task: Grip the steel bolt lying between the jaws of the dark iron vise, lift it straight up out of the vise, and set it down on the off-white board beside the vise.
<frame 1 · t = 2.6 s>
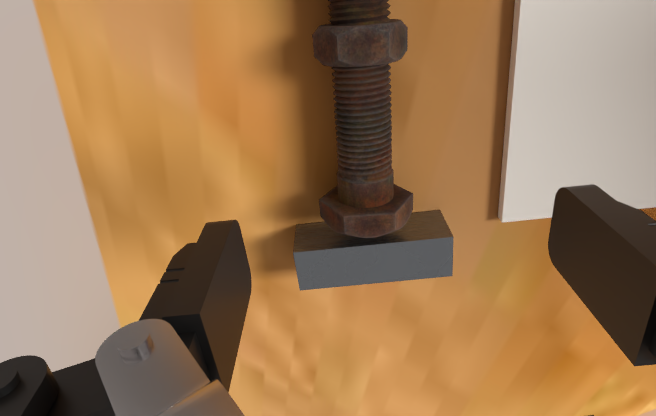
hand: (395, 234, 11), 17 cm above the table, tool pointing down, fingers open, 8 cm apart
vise: (357, 86, 26), on the table
bolt: (361, 89, 27), on the table
board: (631, 55, 25), on the table
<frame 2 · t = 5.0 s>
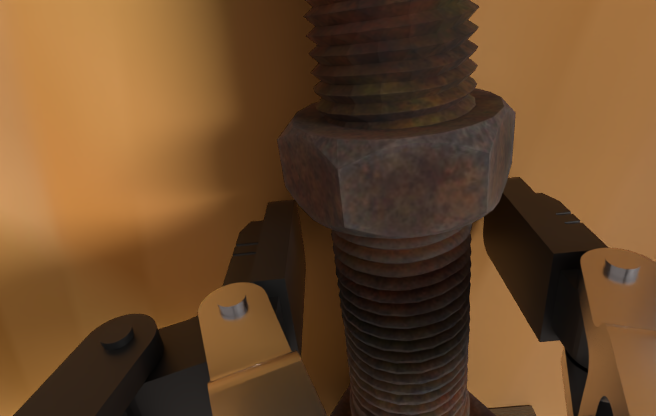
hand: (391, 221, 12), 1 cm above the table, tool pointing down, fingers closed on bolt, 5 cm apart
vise: (387, 208, 12), on the table
bolt: (392, 218, 13), on the table, touching gripper
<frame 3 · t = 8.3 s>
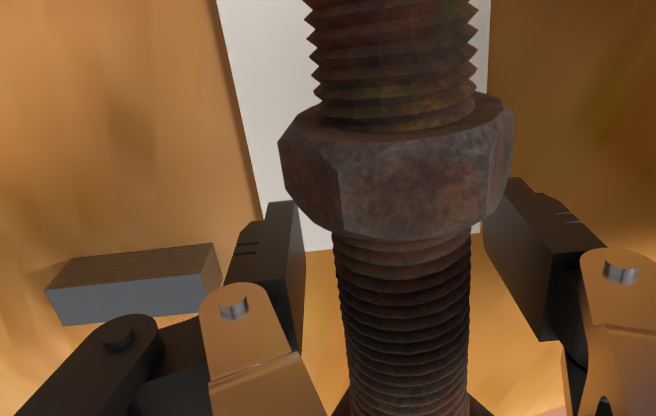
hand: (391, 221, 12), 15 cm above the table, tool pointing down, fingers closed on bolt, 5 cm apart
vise: (94, 125, 26), on the table
bolt: (392, 219, 13), point 14 cm above the table, touching gripper
board: (360, 92, 25), on the table
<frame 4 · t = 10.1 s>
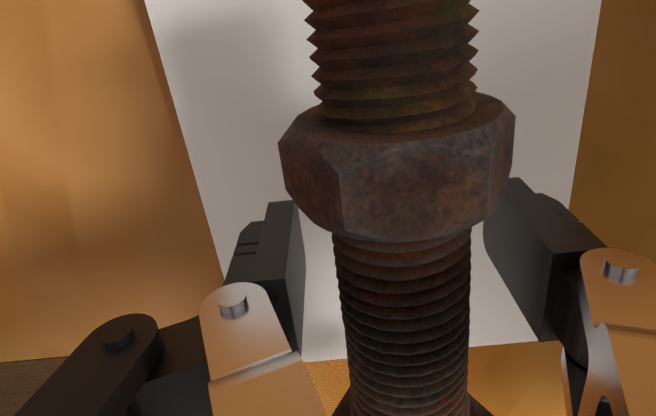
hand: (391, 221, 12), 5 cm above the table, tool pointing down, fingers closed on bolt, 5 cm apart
bolt: (392, 220, 13), point 4 cm above the table, touching gripper
board: (381, 147, 17), on the table
when the fingers open (3 cm above the table, at t = 11.5 s): bolt drops 1 cm, resting on board.
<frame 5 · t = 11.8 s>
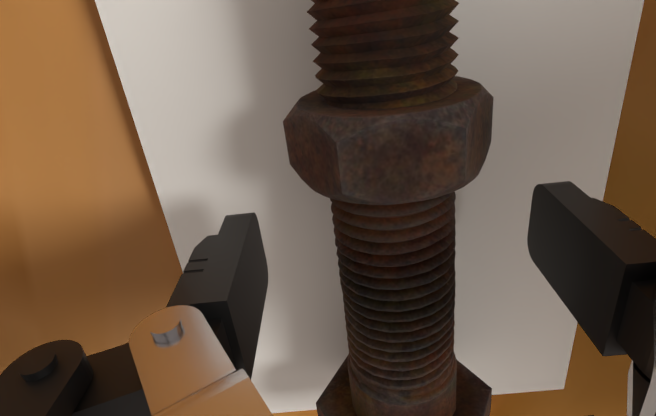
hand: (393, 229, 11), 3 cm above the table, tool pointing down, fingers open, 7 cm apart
bolt: (386, 197, 14), point 1 cm above the table, touching board
board: (379, 178, 14), on the table
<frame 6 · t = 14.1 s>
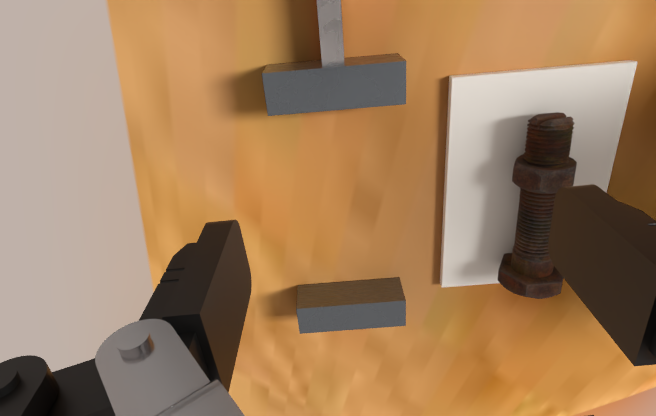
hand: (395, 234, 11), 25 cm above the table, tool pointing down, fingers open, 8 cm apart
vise: (342, 199, 39), on the table
bolt: (528, 193, 38), point 1 cm above the table, touching board
board: (523, 184, 39), on the table
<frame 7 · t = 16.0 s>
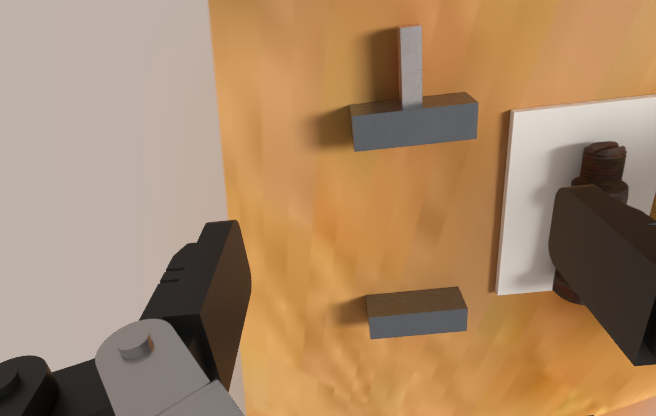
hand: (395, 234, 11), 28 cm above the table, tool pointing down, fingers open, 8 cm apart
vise: (410, 219, 43), on the table
bolt: (579, 210, 42), point 1 cm above the table, touching board
board: (574, 202, 43), on the table
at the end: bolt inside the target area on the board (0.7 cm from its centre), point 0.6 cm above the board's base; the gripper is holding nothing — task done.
